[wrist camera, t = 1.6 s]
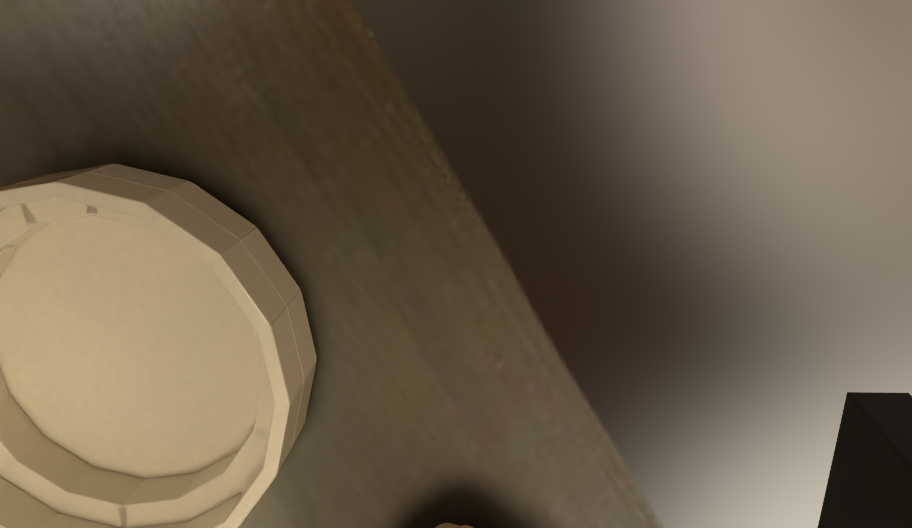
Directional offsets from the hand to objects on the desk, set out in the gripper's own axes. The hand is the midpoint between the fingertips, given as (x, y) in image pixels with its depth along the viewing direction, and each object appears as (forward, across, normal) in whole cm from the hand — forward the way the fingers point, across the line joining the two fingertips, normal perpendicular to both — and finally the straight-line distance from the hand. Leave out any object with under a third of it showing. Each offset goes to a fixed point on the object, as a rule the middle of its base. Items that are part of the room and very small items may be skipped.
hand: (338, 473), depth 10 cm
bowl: (+22, -13, -10) cm, 28 cm away
